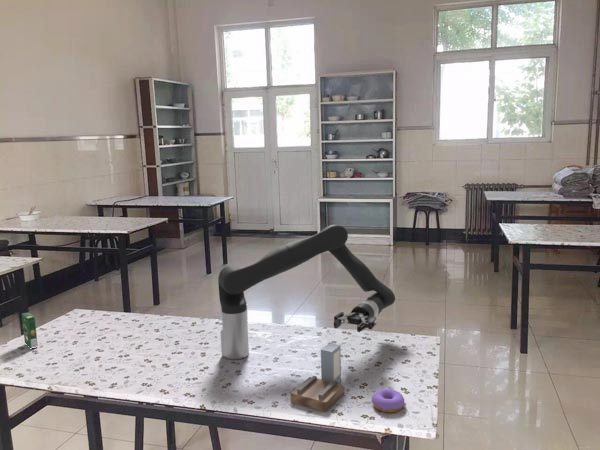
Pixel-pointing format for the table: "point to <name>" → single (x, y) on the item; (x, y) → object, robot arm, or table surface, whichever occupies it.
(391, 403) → the donut
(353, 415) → the table surface
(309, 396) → the display stand
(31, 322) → the coffee box
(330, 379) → the light blue rectangular block
